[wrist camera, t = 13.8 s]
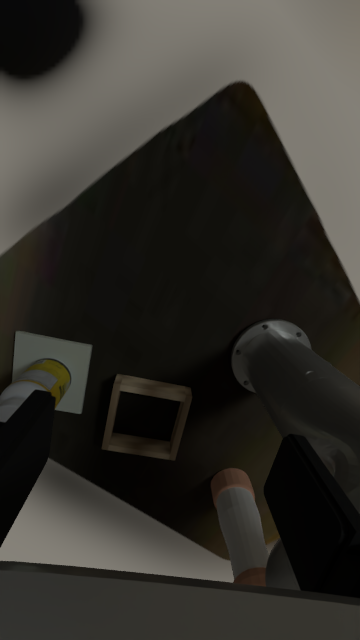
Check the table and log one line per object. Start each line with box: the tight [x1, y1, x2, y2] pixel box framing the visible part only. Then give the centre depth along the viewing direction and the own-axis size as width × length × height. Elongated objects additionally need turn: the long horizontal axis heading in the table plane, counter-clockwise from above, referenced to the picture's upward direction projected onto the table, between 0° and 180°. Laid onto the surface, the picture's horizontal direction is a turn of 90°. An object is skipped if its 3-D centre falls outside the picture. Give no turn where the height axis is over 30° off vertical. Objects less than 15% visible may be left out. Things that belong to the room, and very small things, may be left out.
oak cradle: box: [102, 374, 192, 461], centre depth 44 cm, size 12×12×3 cm
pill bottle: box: [0, 358, 72, 422], centre depth 36 cm, size 6×6×12 cm
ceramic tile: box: [12, 331, 92, 414], centre depth 42 cm, size 11×12×1 cm
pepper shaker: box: [211, 468, 269, 587], centre depth 41 cm, size 7×7×19 cm
